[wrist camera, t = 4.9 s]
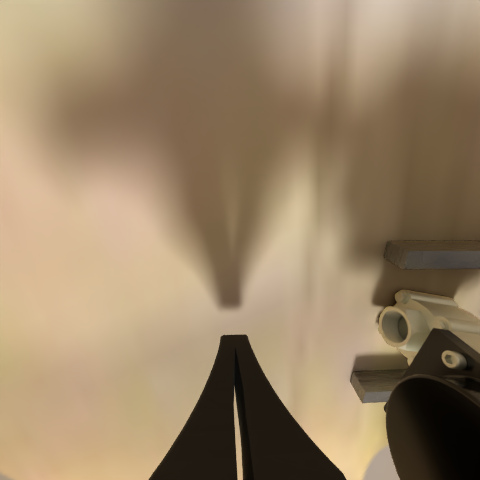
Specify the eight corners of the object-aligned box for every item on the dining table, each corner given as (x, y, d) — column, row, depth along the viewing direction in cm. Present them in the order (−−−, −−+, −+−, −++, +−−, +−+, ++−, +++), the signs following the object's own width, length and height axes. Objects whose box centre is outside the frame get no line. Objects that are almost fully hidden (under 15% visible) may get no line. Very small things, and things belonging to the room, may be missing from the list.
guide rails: (517, 241, 13) (553, 250, 12) (452, 377, 17) (473, 397, 15) (387, 241, 12) (408, 251, 11) (350, 381, 16) (362, 403, 15)
